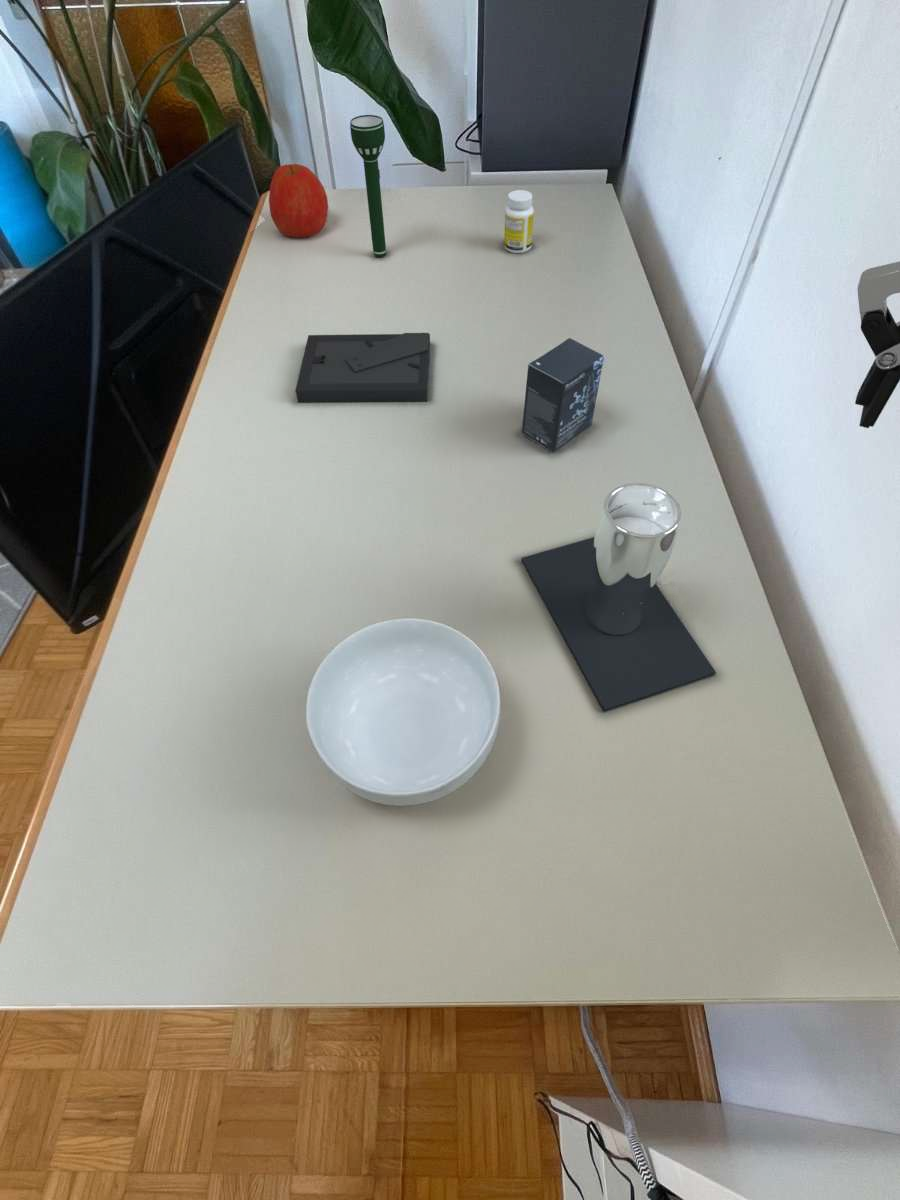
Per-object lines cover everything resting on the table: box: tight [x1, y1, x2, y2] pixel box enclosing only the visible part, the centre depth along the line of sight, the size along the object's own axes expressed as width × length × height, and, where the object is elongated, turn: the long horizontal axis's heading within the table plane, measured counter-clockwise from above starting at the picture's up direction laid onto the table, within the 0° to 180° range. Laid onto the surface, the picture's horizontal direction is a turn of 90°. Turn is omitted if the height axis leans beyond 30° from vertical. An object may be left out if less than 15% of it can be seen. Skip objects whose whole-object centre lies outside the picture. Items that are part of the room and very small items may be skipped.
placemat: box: [521, 536, 717, 713], centre depth 72 cm, size 20×12×1 cm, turn 19°
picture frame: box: [295, 332, 431, 403], centre depth 98 cm, size 13×2×18 cm
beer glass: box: [584, 482, 682, 635], centre depth 66 cm, size 7×7×15 cm
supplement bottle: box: [503, 189, 535, 254], centre depth 117 cm, size 5×5×8 cm
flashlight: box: [349, 114, 387, 259], centre depth 112 cm, size 5×5×20 cm
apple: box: [268, 163, 329, 238], centre depth 122 cm, size 10×10×10 cm
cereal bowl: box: [305, 617, 501, 807], centre depth 62 cm, size 17×17×7 cm
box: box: [521, 337, 605, 454], centre depth 86 cm, size 8×6×11 cm
